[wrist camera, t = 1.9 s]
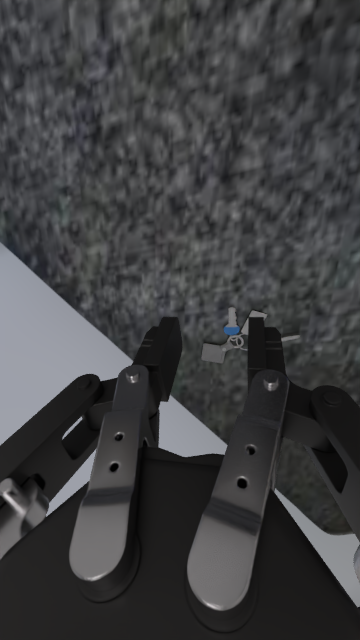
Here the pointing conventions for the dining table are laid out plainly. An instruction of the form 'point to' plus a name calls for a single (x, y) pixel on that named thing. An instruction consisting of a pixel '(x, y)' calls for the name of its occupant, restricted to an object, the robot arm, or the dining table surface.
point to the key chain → (218, 352)
